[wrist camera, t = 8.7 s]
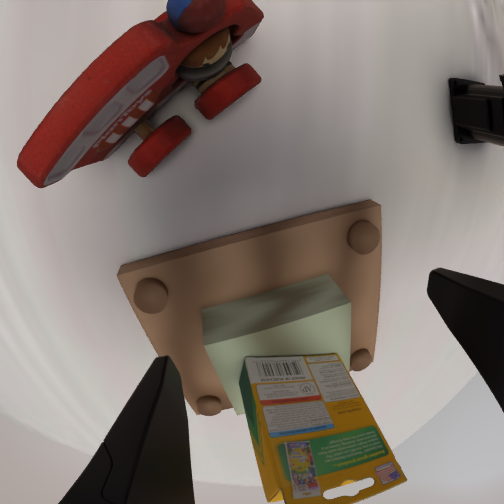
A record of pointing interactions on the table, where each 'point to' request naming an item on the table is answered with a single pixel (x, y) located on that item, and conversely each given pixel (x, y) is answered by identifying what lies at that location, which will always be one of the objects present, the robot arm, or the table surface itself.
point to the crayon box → (313, 430)
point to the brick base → (253, 274)
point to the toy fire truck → (145, 89)
